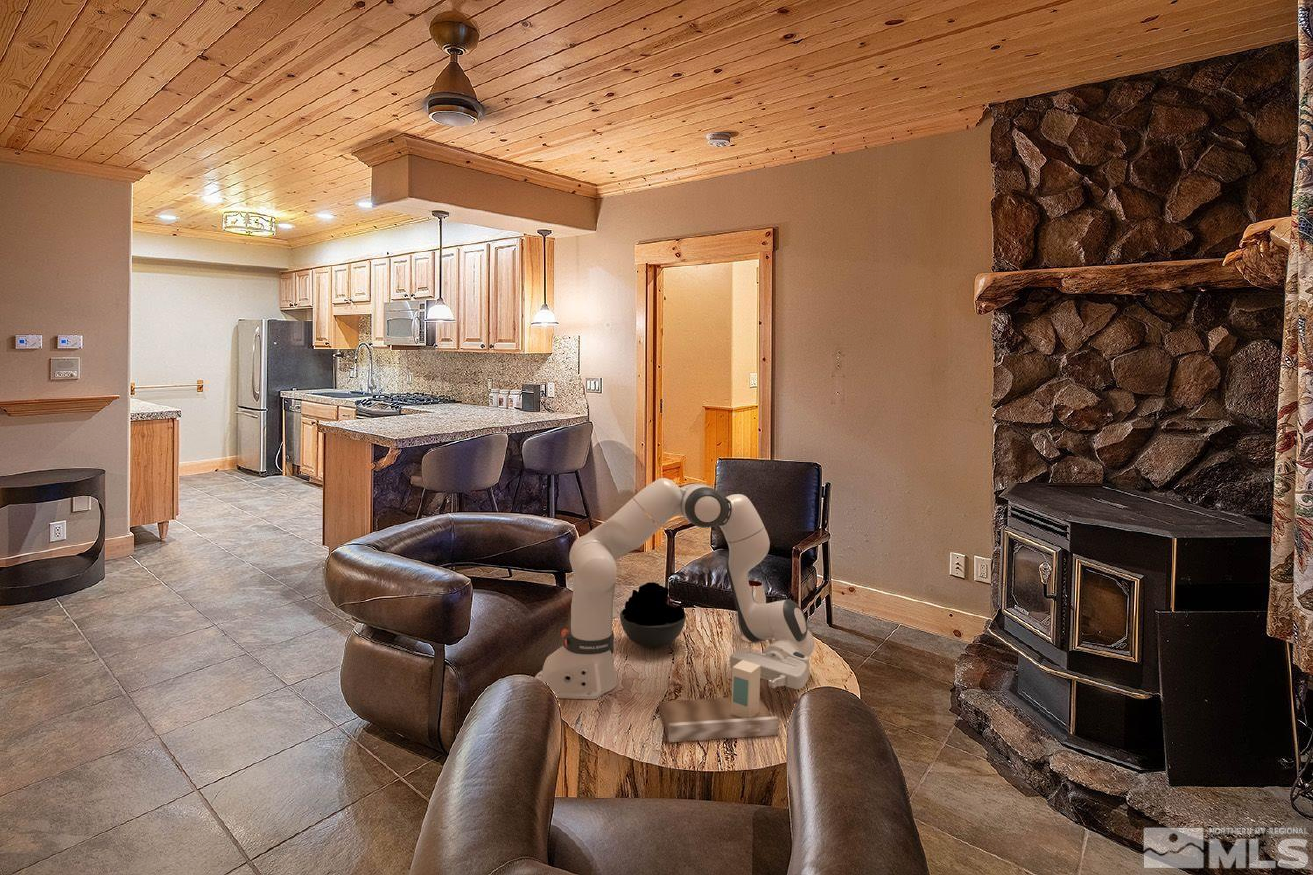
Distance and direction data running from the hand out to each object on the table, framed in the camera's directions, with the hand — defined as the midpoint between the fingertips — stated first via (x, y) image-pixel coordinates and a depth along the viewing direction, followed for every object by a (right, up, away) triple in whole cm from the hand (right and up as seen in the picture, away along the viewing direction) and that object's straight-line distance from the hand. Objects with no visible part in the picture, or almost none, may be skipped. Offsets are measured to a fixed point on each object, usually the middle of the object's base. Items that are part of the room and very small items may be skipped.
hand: (753, 678), depth 173 cm
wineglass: (+6, -4, +47) cm, 48 cm away
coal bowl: (-25, -4, +40) cm, 48 cm away
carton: (-3, -7, -3) cm, 8 cm away
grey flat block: (-10, -9, -3) cm, 14 cm away
